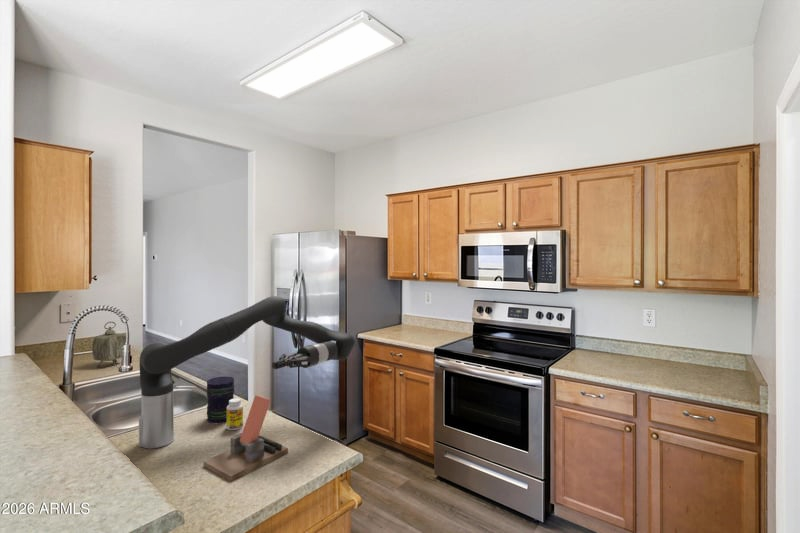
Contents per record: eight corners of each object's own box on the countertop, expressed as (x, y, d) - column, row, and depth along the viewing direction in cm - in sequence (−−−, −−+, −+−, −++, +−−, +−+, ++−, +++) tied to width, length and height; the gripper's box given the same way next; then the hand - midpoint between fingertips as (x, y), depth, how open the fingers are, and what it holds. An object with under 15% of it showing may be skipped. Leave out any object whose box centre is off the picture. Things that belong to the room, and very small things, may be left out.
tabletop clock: (115, 361, 237) (115, 319, 236) (128, 362, 235) (128, 320, 234) (92, 368, 222) (91, 323, 222) (106, 369, 221) (105, 324, 220)
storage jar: (207, 415, 158) (206, 378, 157) (234, 411, 162) (233, 375, 162) (206, 425, 149) (206, 385, 148) (235, 421, 153) (234, 382, 153)
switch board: (260, 441, 137) (260, 422, 136) (287, 452, 129) (287, 432, 128) (203, 466, 120) (203, 444, 120) (231, 481, 112) (230, 458, 112)
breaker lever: (244, 444, 126) (261, 396, 131) (254, 449, 123) (270, 399, 128) (238, 444, 124) (255, 395, 129) (247, 448, 122) (265, 398, 126)
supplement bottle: (228, 432, 143) (228, 403, 143) (225, 426, 148) (225, 399, 148) (244, 428, 146) (244, 400, 146) (241, 423, 151) (241, 396, 151)
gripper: (300, 342, 150) (261, 351, 136) (325, 347, 142) (286, 357, 128) (300, 362, 150) (261, 373, 136) (326, 368, 143) (287, 380, 128)
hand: (273, 365), depth 132 cm, fingers closed
